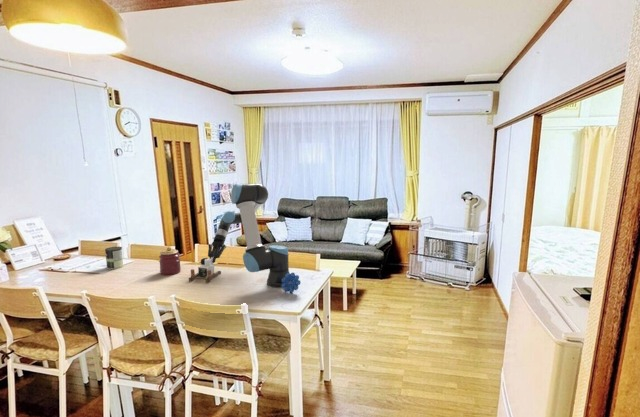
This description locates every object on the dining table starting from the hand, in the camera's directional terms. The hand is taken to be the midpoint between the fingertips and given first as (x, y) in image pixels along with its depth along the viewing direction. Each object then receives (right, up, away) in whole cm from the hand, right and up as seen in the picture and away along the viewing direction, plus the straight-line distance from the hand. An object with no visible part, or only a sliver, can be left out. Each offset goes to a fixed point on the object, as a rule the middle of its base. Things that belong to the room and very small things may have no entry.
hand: (209, 266), depth 222 cm
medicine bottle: (-1, -6, -4) cm, 7 cm away
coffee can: (-74, -4, +17) cm, 76 cm away
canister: (-28, -5, +5) cm, 29 cm away
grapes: (+57, -9, -32) cm, 67 cm away
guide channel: (-1, -6, -6) cm, 9 cm away
